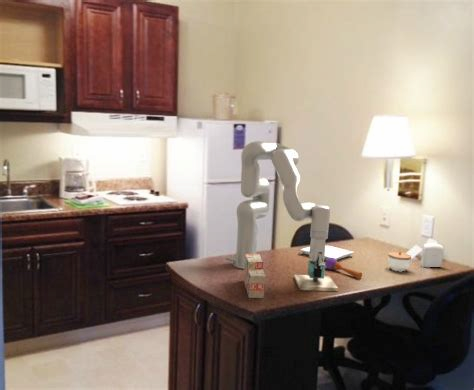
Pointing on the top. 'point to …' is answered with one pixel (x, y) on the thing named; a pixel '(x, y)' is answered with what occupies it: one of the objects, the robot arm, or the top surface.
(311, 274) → the open box
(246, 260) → the stack of blocks
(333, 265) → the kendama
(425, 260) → the photo printer
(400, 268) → the lidded jar
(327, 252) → the salad plate
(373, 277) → the top surface
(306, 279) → the cream peg stand
